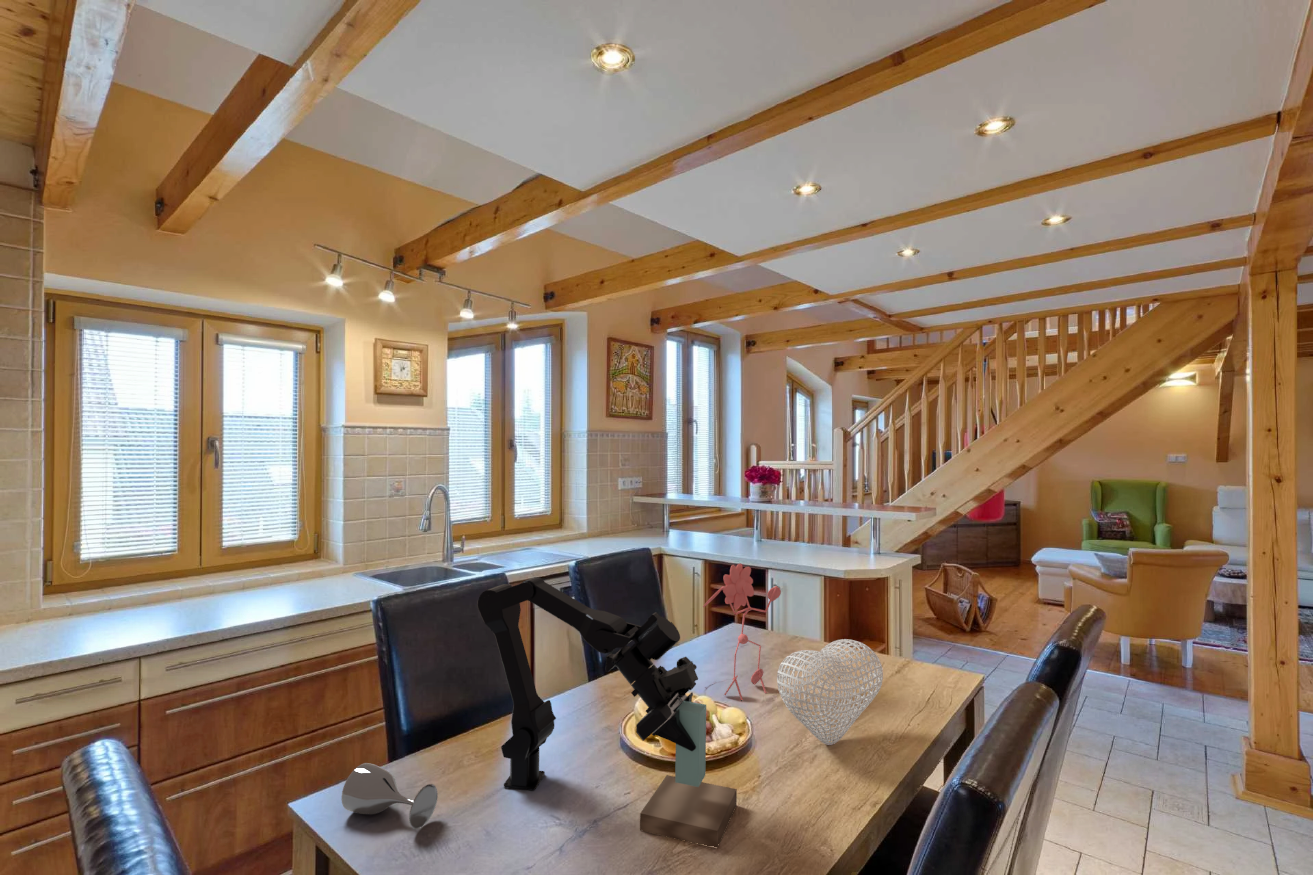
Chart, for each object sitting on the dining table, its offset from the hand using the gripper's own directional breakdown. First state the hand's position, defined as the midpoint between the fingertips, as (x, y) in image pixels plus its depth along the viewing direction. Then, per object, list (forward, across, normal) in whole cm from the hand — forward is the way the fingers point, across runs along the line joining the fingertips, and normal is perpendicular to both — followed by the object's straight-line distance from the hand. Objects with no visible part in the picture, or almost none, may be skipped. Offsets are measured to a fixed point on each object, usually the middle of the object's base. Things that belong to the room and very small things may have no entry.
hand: (698, 743), depth 116 cm
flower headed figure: (+5, +63, +15) cm, 65 cm away
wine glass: (-24, -20, +38) cm, 50 cm away
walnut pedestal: (+9, 0, +10) cm, 14 cm away
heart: (+24, +39, -5) cm, 46 cm away
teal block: (+4, 0, +6) cm, 7 cm away
